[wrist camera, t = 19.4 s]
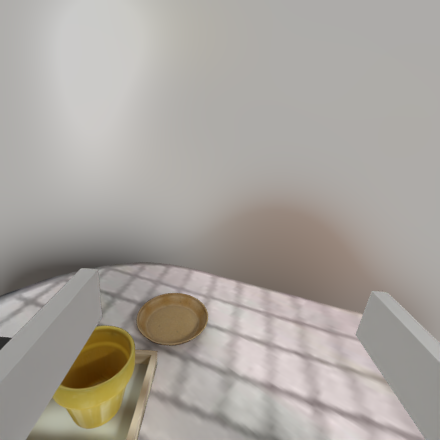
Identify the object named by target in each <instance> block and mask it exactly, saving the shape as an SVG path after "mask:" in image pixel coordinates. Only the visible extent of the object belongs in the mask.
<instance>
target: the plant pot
mask: <svg viewBox="0 0 440 440" xmlns="http://www.w3.org/2000/svg"><path fill="white" fill-rule="evenodd" d="M134 366H135V344H134V341H133V338H132V337H131V335H130V334H129V333H128V332H126V331H125V330H123V329H121V328H118V327H115V326H97V327H96V328H95V329H94V331H93V332H92V334H91V336H90V337H89V339H88V340H87V342H86V344H85V345H84V347H83V349H82V350H81V352H80V353H79V355H78V357H77V358H76V360H75V361H74V363H73V365H72V366H71V368H70V369H69V371H68V373H67V374H66V376H65V377H64V379H63V381H62V382H61V384H60V386H59V387H58V389H57V390H56V392H55V394H54V395H53V399H54V400H55V402H56V403H58V404H59V405H60V406H62V407H64V408H66V409H67V411H68V413H69V414H70V416H71V417H72V419H73V421H74V422H75V423H76V424H77V425H78V426H79V427H82V428H85V429H92V428H96V427H99V426H102V425H103V424H105V423H107V422H108V421H110V420H111V419H112V418H113V417H114V416H115V414H116V413H117V412H118V410H119V408H120V406H121V404H122V400H123V396H124V392H125V388H126V385H127V384H128V382H129V380H130V379H131V376H132V374H133V371H134Z"/></svg>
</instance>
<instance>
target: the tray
mask: <svg viewBox="0 0 440 440" xmlns="http://www.w3.org/2000/svg"><path fill="white" fill-rule="evenodd" d="M156 366H157V351H150V350H135V366H134V371H133V374H132V376H131V379H130V380H129V382H128V384H127V385H126V388H125V392H124V396H123V400H122V404H121V406H120V408H119V410H118V412H117V413H116V414H115V416H114V417H113V418H112V419H111V420H110V421H108V422H107V423H105V424H103V425H102V426H99V427H96V428H92V429H85V428H82V427H79V426H78V425H77V424H76V423H75V422H74V421H73V419H72V417H71V416H70V414H69V413H68V411H67V409H66V408H64V407H62V406H60V405H59V404H58V403H56V402H55V400H54V399H53V397H52V398H51V400H50V402H49V403H48V405H47V406H46V408H45V410H44V411H43V413H42V414H41V416H40V418H39V419H38V421H37V423H36V424H35V426H34V427H33V429H32V431H31V432H30V434H29V435H28V437H27V439H26V440H137V439H138V435H139V431H140V427H141V424H142V420H143V416H144V412H145V408H146V405H147V401H148V397H149V393H150V389H151V385H152V382H153V378H154V374H155V370H156Z"/></svg>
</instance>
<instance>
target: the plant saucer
mask: <svg viewBox="0 0 440 440" xmlns="http://www.w3.org/2000/svg"><path fill="white" fill-rule="evenodd" d="M136 321H137V327H138V329H139V331H140V332H141V333H142V335H144V336H145V337H146V338H147V339H149V340H150V341H152V342H154V343H157V344H161V345H169V346H170V345H179V344H183V343H186V342H188V341H190V340H192V339H194V338H195V337H197V336H198V335H199V334H200V333H201V332H202V331H203V330H204V328H205V327H206V325H207V321H208V312H207V310H206V308H205V306H204V305H203V304H202V302H200V301H199V300H198V299H196V298H195V297H192V296H190V295H186V294H182V293H168V294H163V295H159V296H157V297H154V298H152V299H151V300H149V301H148V302H146V303H145V304H144V305H143V306H142V307H141V309H140V310H139V312H138V314H137V320H136Z"/></svg>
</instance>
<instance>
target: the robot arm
mask: <svg viewBox="0 0 440 440" xmlns="http://www.w3.org/2000/svg"><path fill="white" fill-rule="evenodd" d="M101 318H102V307H101V295H100V284H99V273H98V269H87V268H81V269H80V270H79V271H78V272H77V273H76V274H75V275H74V276H73V277H72V278H71V279H70V280H69V281H68V282H67V283H66V284H65V285H64V286H63V287H62V288H61V289H60V290H59V291H58V292H57V293H56V294H55V295H54V296H53V297H52V298H51V299H50V300H49V301H48V302H47V303H46V304H45V305H44V306H43V307H42V308H41V309H40V310H39V311H38V312H37V313H36V314H35V315H34V316H33V317H32V319H31V320H30V321H29V322H28V323H27V324H26V325H25V326H24V327H23V328H22V329H21V330H20V331H19V332H18V333H17V334H16V335H15V336H14V337H13V338H8V337H0V440H26V439H27V437H28V435H29V434H30V432H31V431H32V429H33V427H34V426H35V424H36V423H37V421H38V419H39V418H40V416H41V414H42V413H43V411H44V410H45V408H46V406H47V405H48V403H49V402H50V400H51V398H52V397H53V395H54V394H55V392H56V390H57V389H58V387H59V386H60V384H61V382H62V381H63V379H64V377H65V376H66V374H67V373H68V371H69V369H70V368H71V366H72V365H73V363H74V361H75V360H76V358H77V357H78V355H79V353H80V352H81V350H82V349H83V347H84V345H85V344H86V342H87V340H88V339H89V337H90V336H91V334H92V332H93V331H94V329H95V328H96V326H97V324H98V323H99V321H100V320H101ZM356 336H357V338H358V339H359V341H360V342H361V344H362V345H363V347H364V348H365V350H366V351H367V353H368V354H369V356H370V357H371V359H372V360H373V362H374V363H375V365H376V366H377V368H378V369H379V371H380V372H381V374H382V375H383V377H384V378H385V380H386V381H387V383H388V384H389V386H390V387H391V389H392V390H393V392H394V393H395V394H396V396H397V397H398V399H399V400H400V402H401V403H402V405H403V406H404V408H405V409H406V411H407V412H408V414H409V415H410V417H411V418H412V420H413V421H414V423H415V424H416V426H417V427H418V429H419V430H420V432H421V433H422V435H423V436H424V438H425V439H426V440H440V343H439V342H438V341H437V340H436V339H435V338H434V337H433V336H432V335H431V334H430V333H429V332H428V331H427V330H426V329H425V328H424V327H423V326H422V325H421V324H420V323H418V322H417V321H416V320H415V319H414V318H413V317H412V316H411V315H410V314H409V313H408V312H407V311H406V310H405V309H404V308H403V307H402V306H400V304H399V303H398V302H397V301H396V300H394V298H393V297H392V296H390V294H388V293H387V292H377V291H372V292H371V295H370V298H369V300H368V303H367V305H366V308H365V311H364V313H363V316H362V319H361V321H360V324H359V327H358V329H357V332H356Z"/></svg>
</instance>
